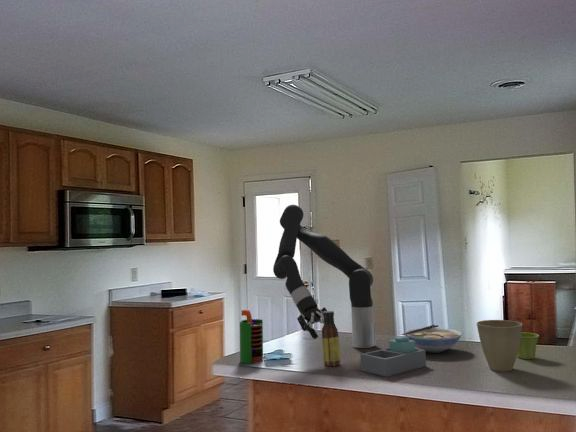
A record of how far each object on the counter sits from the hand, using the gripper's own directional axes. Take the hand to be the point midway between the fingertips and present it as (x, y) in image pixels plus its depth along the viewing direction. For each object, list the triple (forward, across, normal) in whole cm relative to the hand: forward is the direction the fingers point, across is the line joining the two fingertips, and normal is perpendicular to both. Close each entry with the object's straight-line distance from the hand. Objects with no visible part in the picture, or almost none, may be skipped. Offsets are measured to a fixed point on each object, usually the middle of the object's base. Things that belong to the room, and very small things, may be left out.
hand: (324, 335), depth 213 cm
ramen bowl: (+24, -40, +7) cm, 47 cm away
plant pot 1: (+44, -31, +36) cm, 64 cm away
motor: (-6, +21, -22) cm, 31 cm away
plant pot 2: (+44, -53, +33) cm, 76 cm away
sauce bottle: (+12, +4, 0) cm, 12 cm away
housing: (+25, -7, +15) cm, 30 cm away
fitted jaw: (+24, -12, +16) cm, 31 cm away
